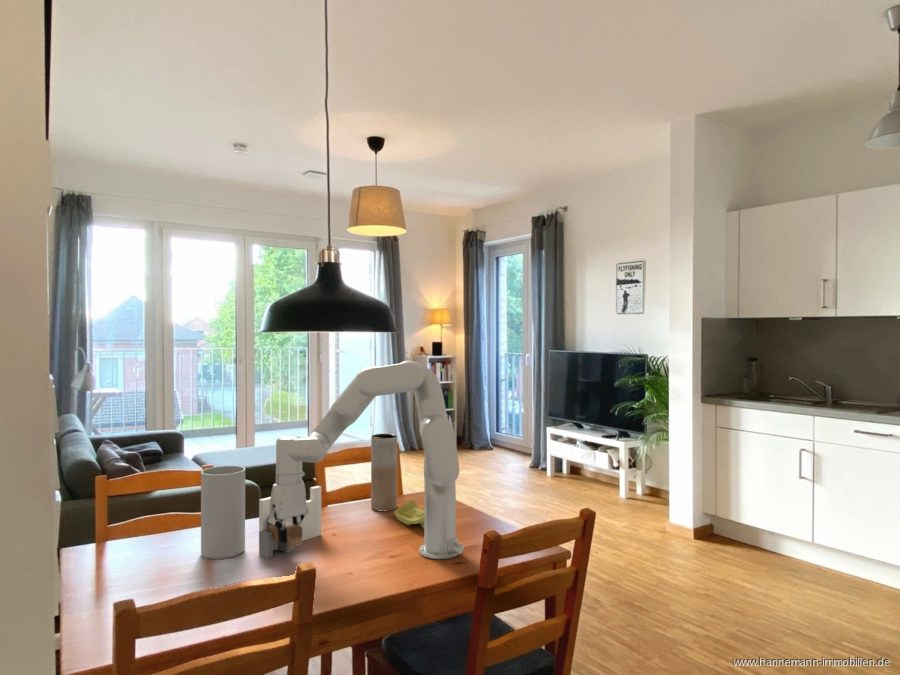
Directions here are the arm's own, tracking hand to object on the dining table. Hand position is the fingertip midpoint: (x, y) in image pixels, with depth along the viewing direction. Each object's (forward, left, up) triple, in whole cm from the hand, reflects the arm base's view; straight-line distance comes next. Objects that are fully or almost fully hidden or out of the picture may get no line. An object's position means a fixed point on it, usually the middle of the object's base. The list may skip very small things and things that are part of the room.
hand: (288, 539), depth 172 cm
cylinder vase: (+19, +10, -6) cm, 23 cm away
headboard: (+8, -8, -6) cm, 12 cm away
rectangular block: (+2, 0, -1) cm, 2 cm away
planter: (+16, -54, -6) cm, 57 cm away
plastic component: (-6, -49, -6) cm, 49 cm away
